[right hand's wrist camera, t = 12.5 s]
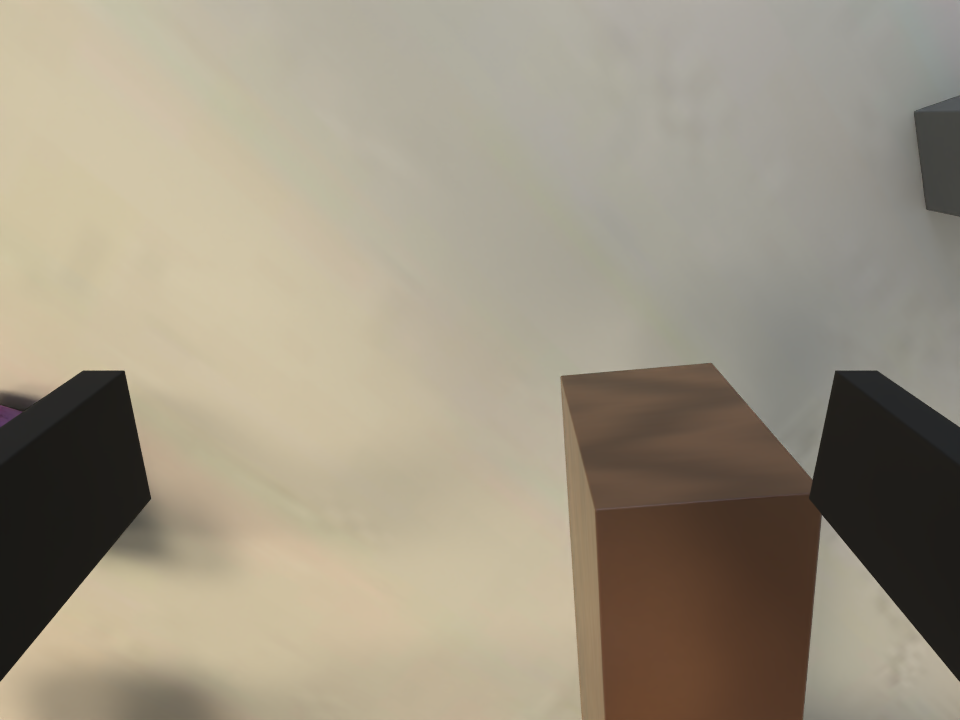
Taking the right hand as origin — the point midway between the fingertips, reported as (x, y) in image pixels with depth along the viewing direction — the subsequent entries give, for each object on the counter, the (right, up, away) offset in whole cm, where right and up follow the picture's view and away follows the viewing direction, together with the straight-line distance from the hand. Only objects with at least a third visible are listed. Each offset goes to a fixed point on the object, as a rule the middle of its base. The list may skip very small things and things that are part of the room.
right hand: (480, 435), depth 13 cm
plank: (+7, -12, +14) cm, 20 cm away
